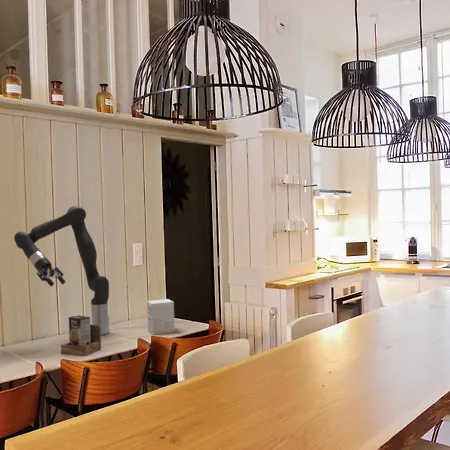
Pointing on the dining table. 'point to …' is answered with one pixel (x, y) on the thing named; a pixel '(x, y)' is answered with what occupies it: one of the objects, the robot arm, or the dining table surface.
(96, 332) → the open walnut box
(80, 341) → the coffee box
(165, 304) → the supplement box
